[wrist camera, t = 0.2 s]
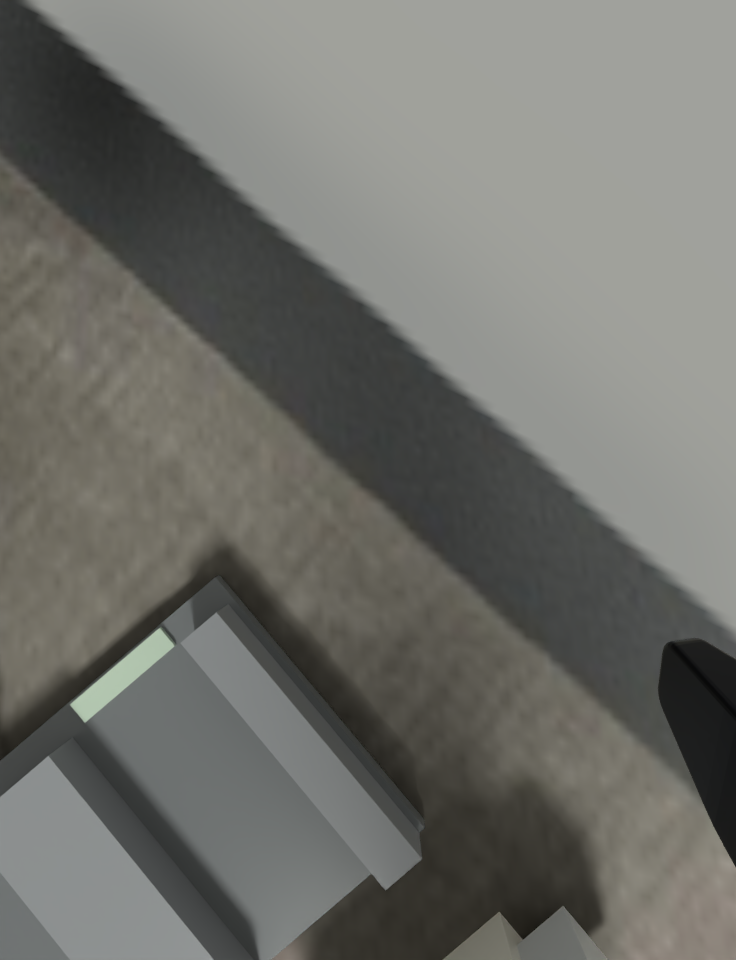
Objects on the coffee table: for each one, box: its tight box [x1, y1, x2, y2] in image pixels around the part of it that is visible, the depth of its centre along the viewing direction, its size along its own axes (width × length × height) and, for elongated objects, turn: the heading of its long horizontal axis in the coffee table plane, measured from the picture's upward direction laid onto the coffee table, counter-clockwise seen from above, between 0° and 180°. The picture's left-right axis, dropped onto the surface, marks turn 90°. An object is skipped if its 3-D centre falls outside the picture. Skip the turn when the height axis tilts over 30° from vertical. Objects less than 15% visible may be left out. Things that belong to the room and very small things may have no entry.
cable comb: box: [0, 575, 425, 960], centre depth 21 cm, size 11×18×2 cm, turn 130°
